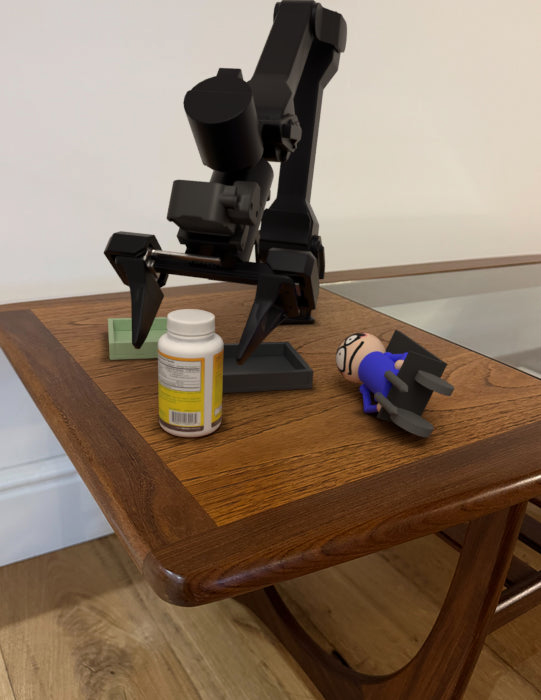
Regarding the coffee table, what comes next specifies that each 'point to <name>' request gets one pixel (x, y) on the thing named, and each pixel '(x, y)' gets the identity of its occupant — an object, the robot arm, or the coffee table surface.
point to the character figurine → (394, 377)
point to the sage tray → (123, 339)
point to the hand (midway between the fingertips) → (186, 354)
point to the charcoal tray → (265, 369)
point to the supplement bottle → (190, 374)
